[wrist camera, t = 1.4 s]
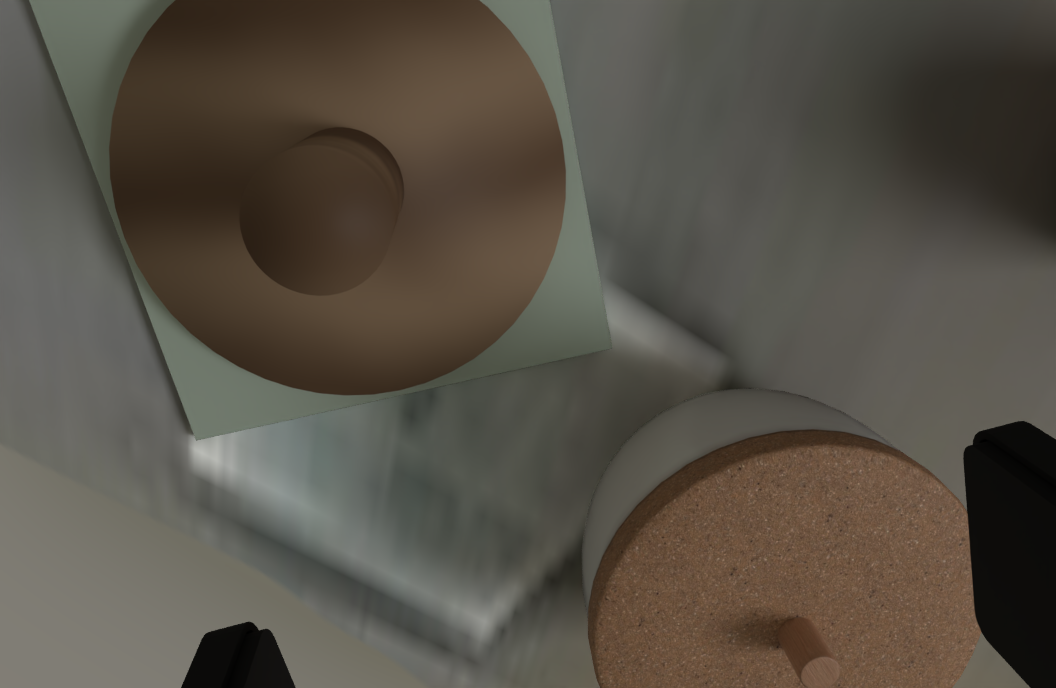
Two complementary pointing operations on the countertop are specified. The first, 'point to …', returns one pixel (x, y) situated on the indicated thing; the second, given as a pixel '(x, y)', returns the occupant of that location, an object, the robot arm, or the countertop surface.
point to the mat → (238, 395)
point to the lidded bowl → (774, 554)
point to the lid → (338, 184)
